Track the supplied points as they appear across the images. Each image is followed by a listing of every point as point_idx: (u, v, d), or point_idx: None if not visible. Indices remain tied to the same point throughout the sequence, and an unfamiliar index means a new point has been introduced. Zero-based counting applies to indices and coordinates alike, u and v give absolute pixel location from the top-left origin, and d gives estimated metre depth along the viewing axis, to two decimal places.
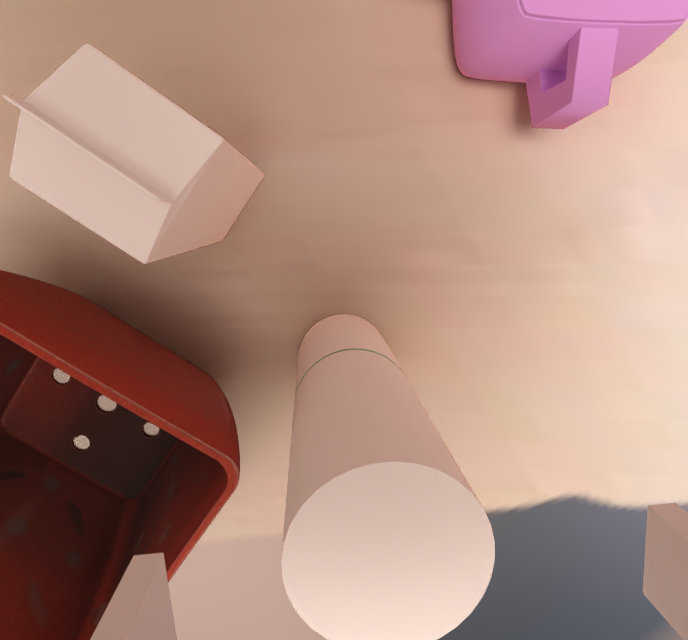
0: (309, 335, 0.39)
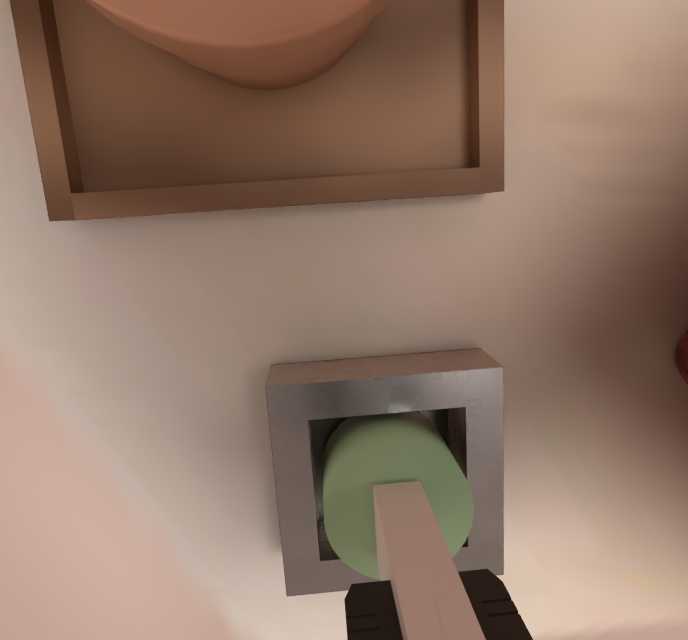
0: None
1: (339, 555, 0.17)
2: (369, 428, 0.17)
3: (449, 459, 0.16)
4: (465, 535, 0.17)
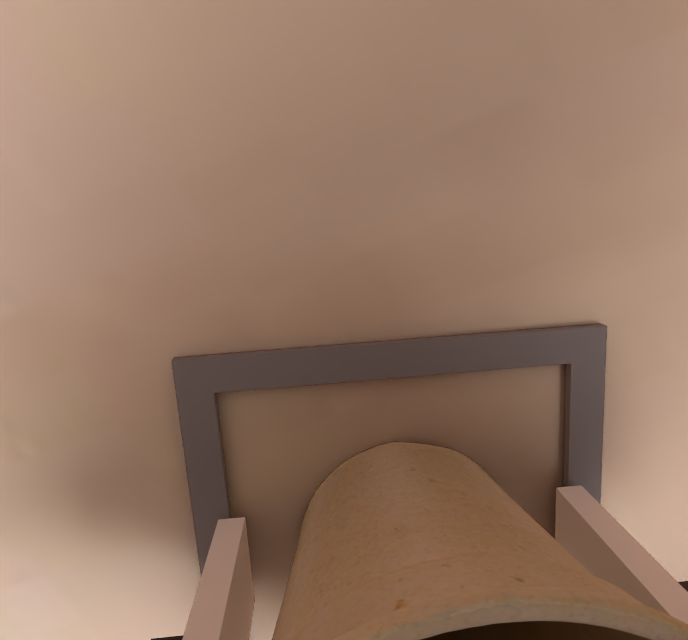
0: None
1: None
2: None
3: None
4: None
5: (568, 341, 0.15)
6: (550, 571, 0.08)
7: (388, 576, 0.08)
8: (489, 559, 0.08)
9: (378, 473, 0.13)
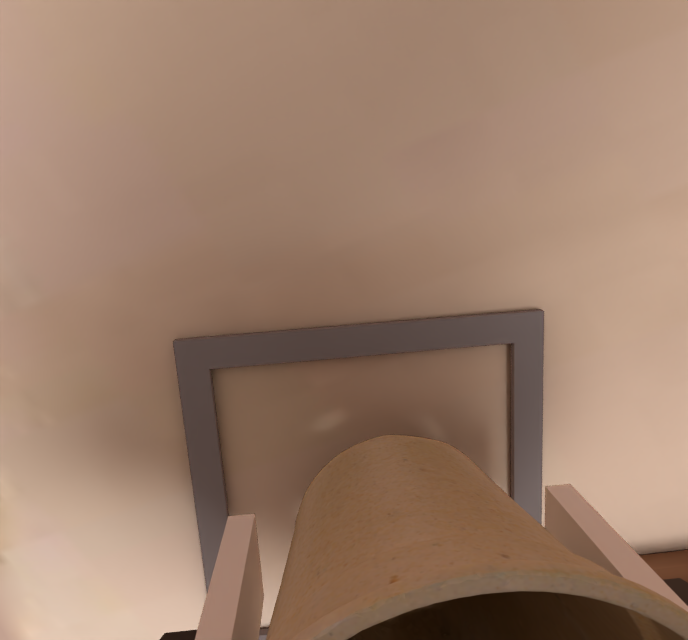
0: None
1: None
2: None
3: None
4: None
5: (511, 324, 0.17)
6: (534, 548, 0.08)
7: (382, 555, 0.09)
8: (477, 538, 0.09)
9: (371, 464, 0.13)
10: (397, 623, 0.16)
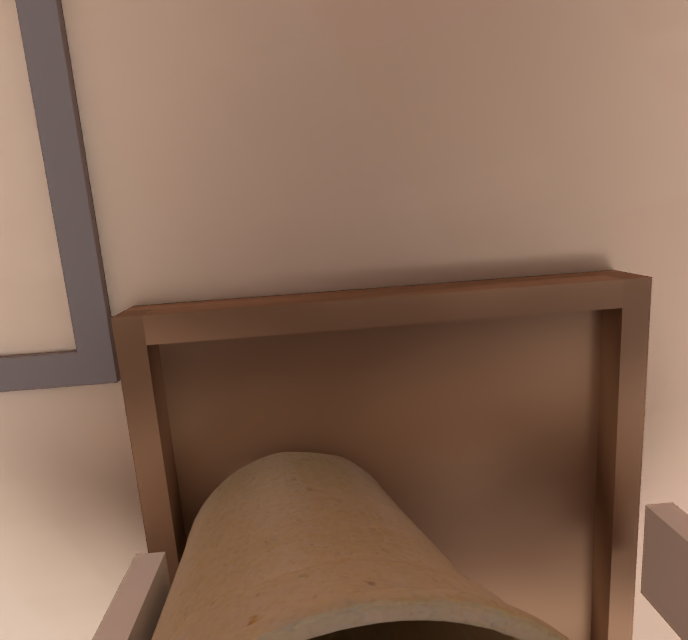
0: None
1: None
2: None
3: None
4: None
5: None
6: (403, 571, 0.08)
7: (247, 592, 0.08)
8: (347, 565, 0.08)
9: (259, 485, 0.13)
10: None
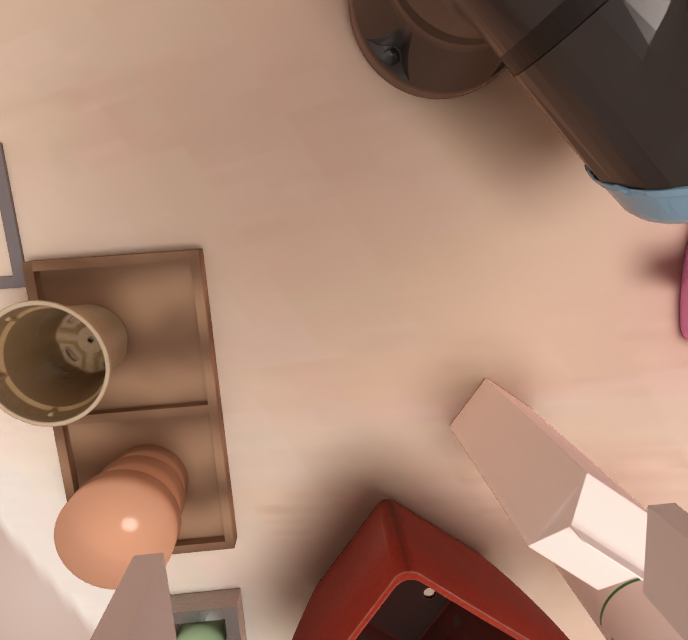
0: None
1: None
2: (190, 627, 0.50)
3: None
4: None
5: None
6: None
7: (26, 308, 0.38)
8: None
9: None
10: (94, 374, 0.46)
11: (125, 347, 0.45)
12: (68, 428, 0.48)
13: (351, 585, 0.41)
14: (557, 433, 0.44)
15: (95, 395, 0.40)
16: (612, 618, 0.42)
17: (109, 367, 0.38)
